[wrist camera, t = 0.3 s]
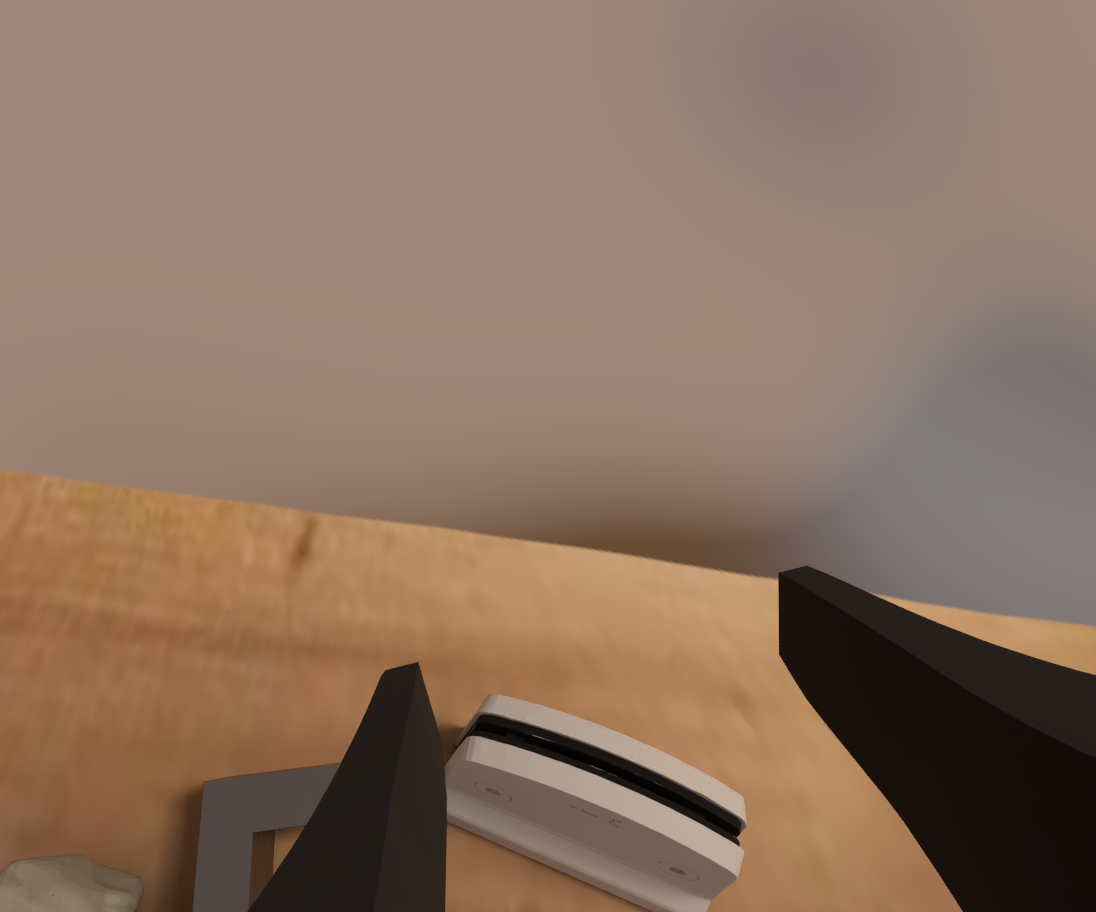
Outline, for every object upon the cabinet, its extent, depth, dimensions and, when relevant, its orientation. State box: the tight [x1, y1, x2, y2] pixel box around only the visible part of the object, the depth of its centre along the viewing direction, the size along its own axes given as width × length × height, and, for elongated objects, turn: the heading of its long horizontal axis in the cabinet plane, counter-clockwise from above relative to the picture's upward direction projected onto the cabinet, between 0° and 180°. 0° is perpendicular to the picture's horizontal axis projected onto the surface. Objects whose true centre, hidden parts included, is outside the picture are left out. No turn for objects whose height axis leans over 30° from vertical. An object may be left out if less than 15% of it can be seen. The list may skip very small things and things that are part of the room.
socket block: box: [192, 763, 341, 912], centre depth 33 cm, size 11×11×4 cm
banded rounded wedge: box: [444, 694, 747, 912], centre depth 34 cm, size 17×5×10 cm, turn 69°
